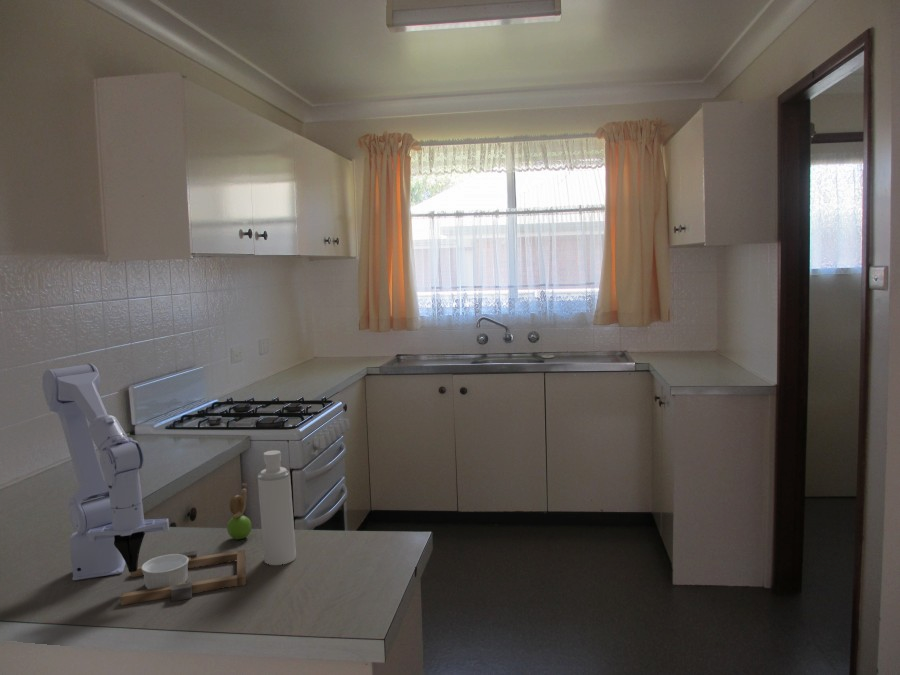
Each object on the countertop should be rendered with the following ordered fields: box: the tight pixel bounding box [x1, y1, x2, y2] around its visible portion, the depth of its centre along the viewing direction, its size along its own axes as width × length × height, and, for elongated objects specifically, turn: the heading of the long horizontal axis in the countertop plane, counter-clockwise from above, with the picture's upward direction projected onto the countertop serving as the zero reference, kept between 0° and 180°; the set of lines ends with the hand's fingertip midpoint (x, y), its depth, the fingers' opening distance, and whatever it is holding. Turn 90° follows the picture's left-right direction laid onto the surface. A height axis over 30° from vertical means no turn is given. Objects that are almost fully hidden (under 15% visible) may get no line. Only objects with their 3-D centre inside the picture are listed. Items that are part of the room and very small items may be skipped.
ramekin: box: [141, 553, 189, 589], centre depth 145 cm, size 9×9×4 cm
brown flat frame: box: [119, 549, 247, 606], centre depth 146 cm, size 23×18×2 cm
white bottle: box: [257, 450, 297, 566], centre depth 153 cm, size 7×7×25 cm
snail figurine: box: [226, 483, 253, 540], centre depth 166 cm, size 5×6×12 cm
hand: (133, 569), depth 143 cm, fingers closed
